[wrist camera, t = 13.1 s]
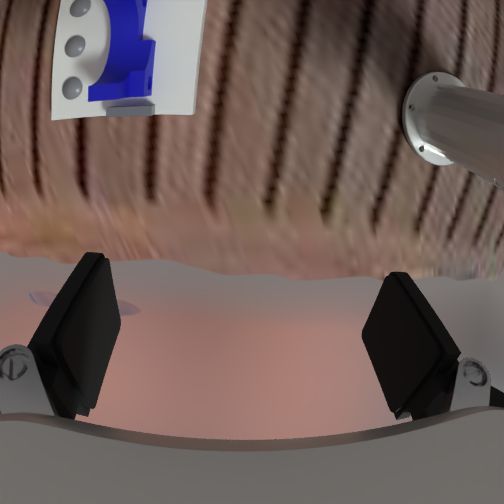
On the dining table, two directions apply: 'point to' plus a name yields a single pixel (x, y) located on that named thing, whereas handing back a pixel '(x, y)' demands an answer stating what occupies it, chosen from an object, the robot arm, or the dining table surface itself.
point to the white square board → (97, 49)
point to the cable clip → (126, 54)
